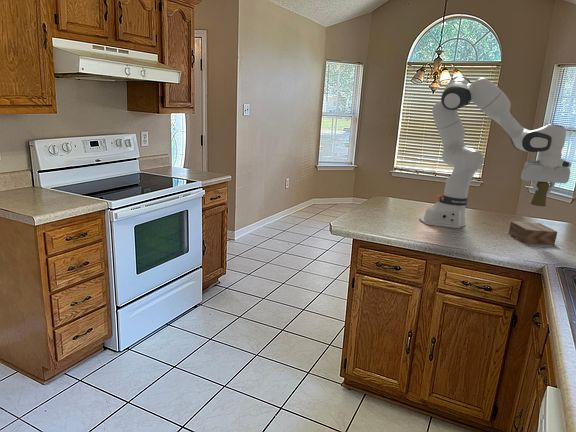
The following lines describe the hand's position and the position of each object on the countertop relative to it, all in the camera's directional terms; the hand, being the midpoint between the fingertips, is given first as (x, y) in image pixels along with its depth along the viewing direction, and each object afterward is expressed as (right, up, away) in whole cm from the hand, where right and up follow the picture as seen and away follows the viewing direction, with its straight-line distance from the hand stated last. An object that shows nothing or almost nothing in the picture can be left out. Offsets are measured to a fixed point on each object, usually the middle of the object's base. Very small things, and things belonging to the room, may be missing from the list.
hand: (541, 191), depth 192 cm
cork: (0, -6, +2) cm, 7 cm away
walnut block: (-1, -22, +6) cm, 23 cm away
